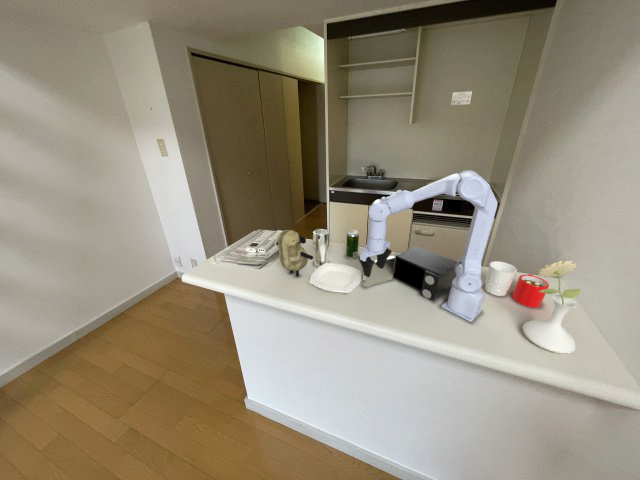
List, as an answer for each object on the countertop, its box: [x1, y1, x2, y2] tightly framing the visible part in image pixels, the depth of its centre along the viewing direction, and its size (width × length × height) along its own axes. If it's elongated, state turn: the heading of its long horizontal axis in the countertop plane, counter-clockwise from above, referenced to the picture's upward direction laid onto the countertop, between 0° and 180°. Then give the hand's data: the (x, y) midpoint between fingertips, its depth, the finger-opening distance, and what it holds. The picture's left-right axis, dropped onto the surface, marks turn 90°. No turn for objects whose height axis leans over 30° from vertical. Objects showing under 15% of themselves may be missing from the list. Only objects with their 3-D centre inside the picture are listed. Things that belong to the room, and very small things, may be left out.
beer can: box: [345, 229, 360, 260], centre depth 115 cm, size 5×5×12 cm
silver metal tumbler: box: [312, 228, 330, 268], centre depth 109 cm, size 7×7×15 cm
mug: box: [511, 273, 550, 308], centre depth 88 cm, size 8×12×8 cm, turn 152°
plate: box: [308, 262, 363, 294], centre depth 99 cm, size 19×19×2 cm
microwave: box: [393, 245, 459, 302], centre depth 96 cm, size 15×18×10 cm
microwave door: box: [361, 255, 396, 288], centre depth 98 cm, size 7×13×10 cm, turn 114°
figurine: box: [275, 229, 314, 278], centre depth 100 cm, size 19×12×20 cm, turn 49°
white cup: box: [484, 260, 518, 297], centre depth 91 cm, size 8×8×10 cm
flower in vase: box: [522, 260, 581, 354], centre depth 67 cm, size 13×11×25 cm
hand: (373, 271), depth 90 cm, fingers open, 7 cm apart
